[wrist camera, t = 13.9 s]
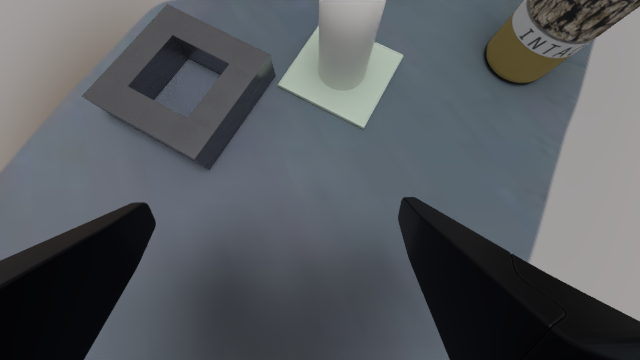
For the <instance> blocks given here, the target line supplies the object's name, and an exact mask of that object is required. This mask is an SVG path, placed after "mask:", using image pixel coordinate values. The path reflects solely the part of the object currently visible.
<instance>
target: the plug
mask: <svg viewBox="0 0 640 360" xmlns="http://www.w3.org/2000/svg"><path fill="white" fill-rule="evenodd" d="M385 3H386V0H319V75H320V78H321V79H322V81H323V82H324V83H325V84H326V85H327V86H329V87H331V88H333V89H337V90H349V89H352V88H354V87H356V86H358V85H359V84H360V83H361V82H362V80H363V79H364V76H365V73H366V69H367V66H368V62H369V59H370V55H371V52H372V48H373V45H374V41H375V38H376V34H377V31H378V27H379V24H380V20H381V17H382V13H383V10H384V6H385Z"/></svg>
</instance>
